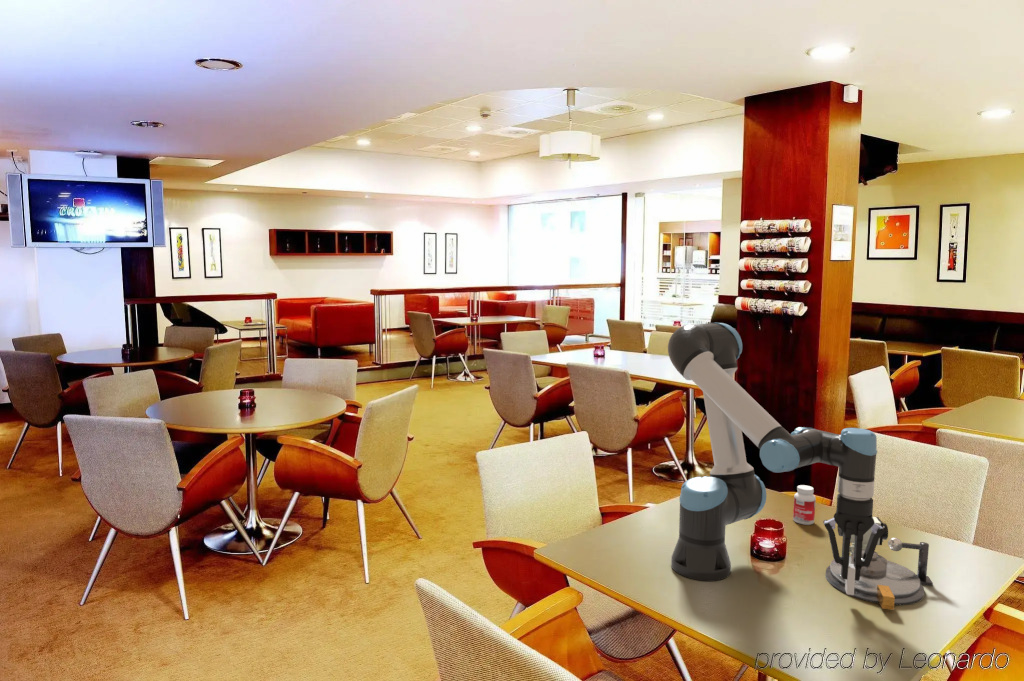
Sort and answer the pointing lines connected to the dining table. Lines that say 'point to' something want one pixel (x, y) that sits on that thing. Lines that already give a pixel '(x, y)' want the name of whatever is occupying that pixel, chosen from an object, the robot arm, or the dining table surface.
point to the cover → (873, 567)
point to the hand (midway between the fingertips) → (849, 592)
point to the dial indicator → (923, 549)
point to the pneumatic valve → (868, 535)
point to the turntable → (884, 583)
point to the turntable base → (873, 598)
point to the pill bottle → (804, 505)
